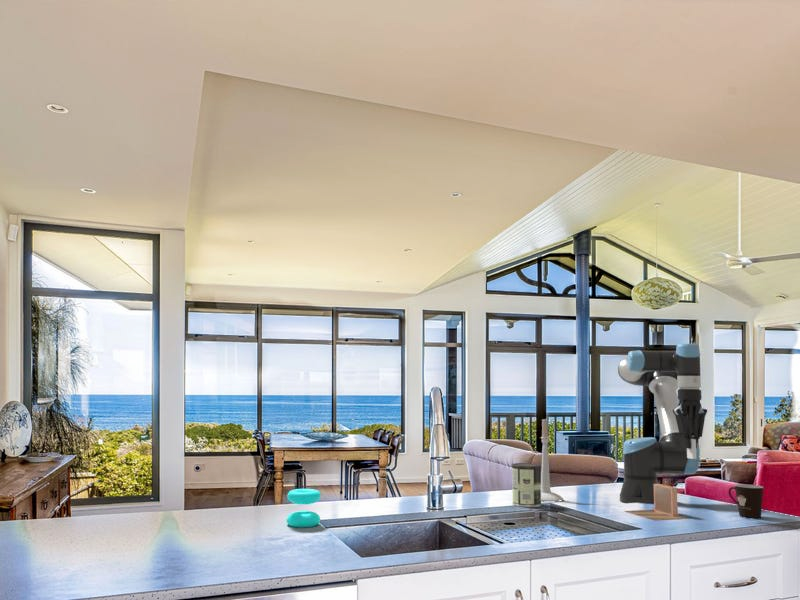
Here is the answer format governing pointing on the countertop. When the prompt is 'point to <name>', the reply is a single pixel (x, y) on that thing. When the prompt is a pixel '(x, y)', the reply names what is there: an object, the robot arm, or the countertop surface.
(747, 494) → the coffee mug
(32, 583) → the countertop surface
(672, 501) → the tile
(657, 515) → the board
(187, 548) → the countertop surface
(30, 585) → the countertop surface
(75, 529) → the countertop surface
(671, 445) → the robot arm
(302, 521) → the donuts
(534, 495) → the coffee can
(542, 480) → the candlestick
